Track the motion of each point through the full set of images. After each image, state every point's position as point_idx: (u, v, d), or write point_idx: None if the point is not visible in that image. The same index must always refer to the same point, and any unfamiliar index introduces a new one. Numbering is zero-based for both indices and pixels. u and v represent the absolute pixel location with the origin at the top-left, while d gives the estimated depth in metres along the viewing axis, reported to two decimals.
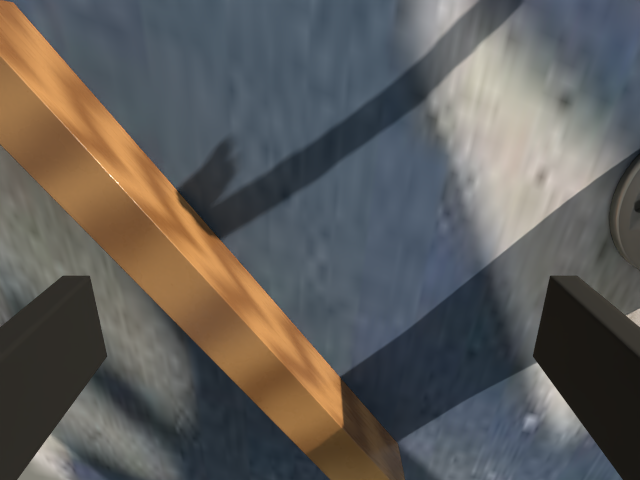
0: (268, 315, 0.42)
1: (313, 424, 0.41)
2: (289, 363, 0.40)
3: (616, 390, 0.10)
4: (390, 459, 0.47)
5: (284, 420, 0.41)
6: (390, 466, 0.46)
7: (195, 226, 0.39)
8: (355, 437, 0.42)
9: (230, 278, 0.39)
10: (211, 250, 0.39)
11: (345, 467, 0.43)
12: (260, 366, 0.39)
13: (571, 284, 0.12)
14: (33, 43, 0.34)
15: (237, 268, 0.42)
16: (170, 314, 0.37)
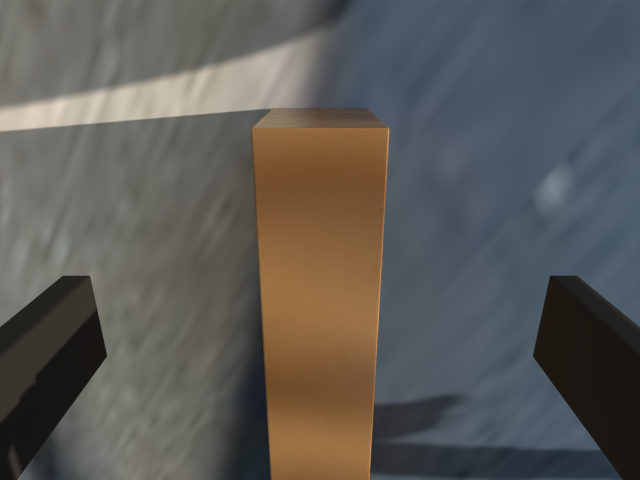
0: None
1: None
2: None
3: (616, 390, 0.10)
4: None
5: None
6: None
7: None
8: None
9: None
10: None
11: None
12: None
13: (571, 284, 0.12)
14: None
15: None
16: None
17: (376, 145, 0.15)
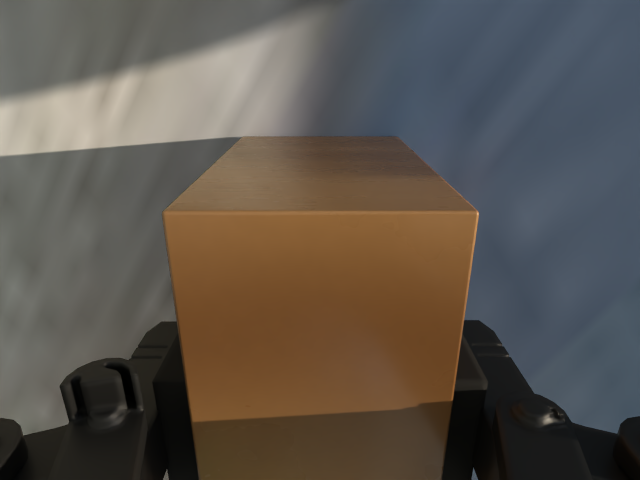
0: None
1: None
2: None
3: None
4: None
5: None
6: None
7: None
8: None
9: None
10: None
11: None
12: None
13: None
14: None
15: None
16: None
17: (449, 248, 0.07)
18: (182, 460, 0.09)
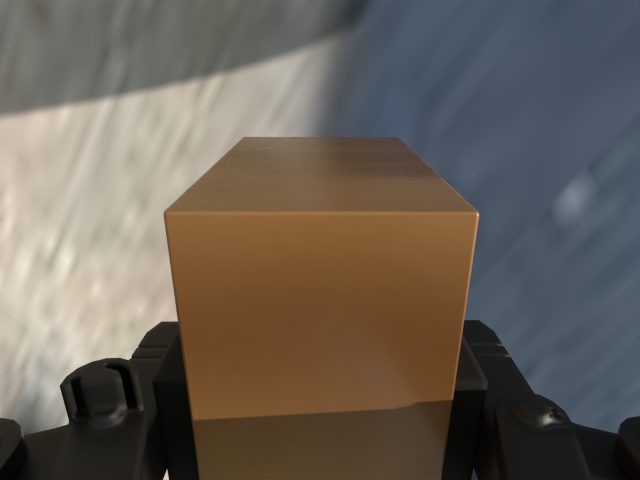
0: None
1: None
2: None
3: None
4: None
5: None
6: None
7: None
8: None
9: None
10: None
11: None
12: None
13: None
14: None
15: None
16: None
17: (449, 249, 0.07)
18: (182, 460, 0.09)
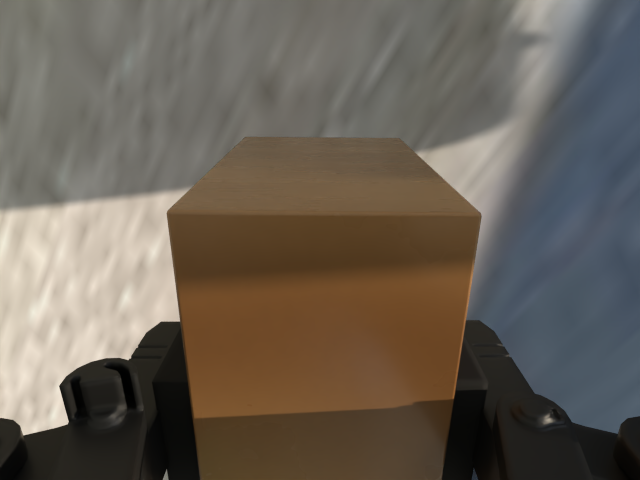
0: None
1: None
2: None
3: None
4: None
5: None
6: None
7: None
8: None
9: None
10: None
11: None
12: None
13: None
14: None
15: None
16: None
17: (452, 250, 0.07)
18: (182, 460, 0.09)
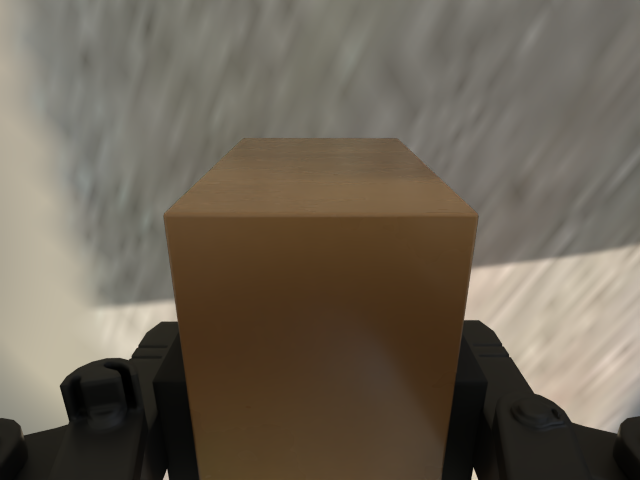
0: None
1: None
2: None
3: None
4: None
5: None
6: None
7: None
8: None
9: None
10: None
11: None
12: None
13: None
14: None
15: None
16: None
17: (448, 251, 0.07)
18: (182, 460, 0.09)
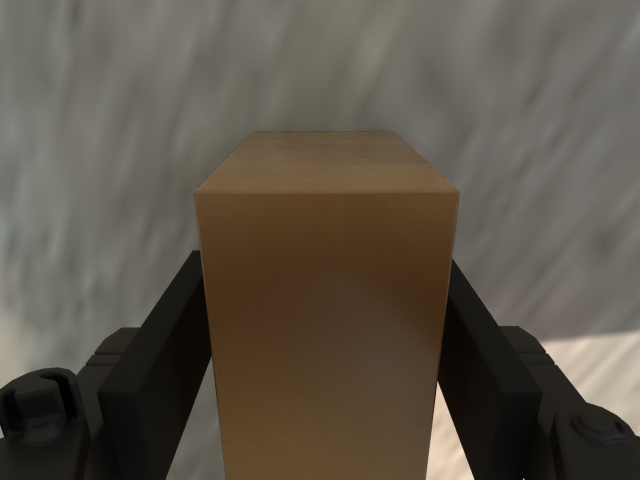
0: None
1: None
2: None
3: (448, 341, 0.11)
4: None
5: None
6: None
7: None
8: None
9: None
10: None
11: None
12: None
13: None
14: None
15: None
16: None
17: (435, 222, 0.08)
18: (132, 472, 0.09)
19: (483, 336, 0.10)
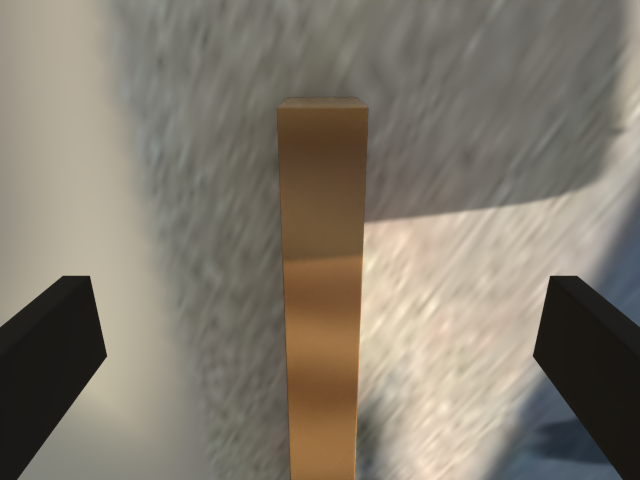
0: None
1: None
2: None
3: (616, 390, 0.10)
4: None
5: None
6: None
7: None
8: None
9: None
10: None
11: None
12: None
13: (571, 284, 0.12)
14: None
15: None
16: (293, 475, 0.33)
17: (360, 119, 0.23)
18: None
19: None
